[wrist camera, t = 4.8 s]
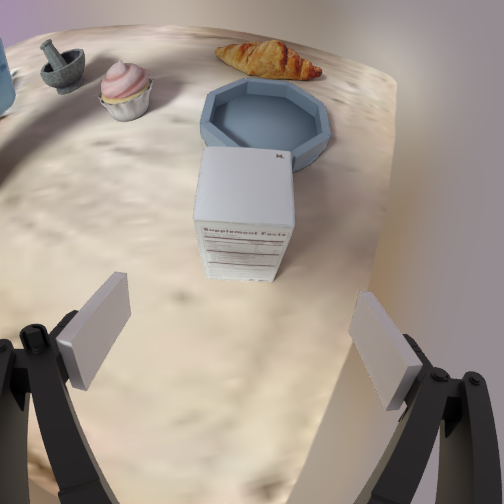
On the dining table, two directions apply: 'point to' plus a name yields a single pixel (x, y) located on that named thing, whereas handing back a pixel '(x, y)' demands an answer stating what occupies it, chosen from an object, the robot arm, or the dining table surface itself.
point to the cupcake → (125, 91)
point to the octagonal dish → (266, 119)
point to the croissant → (268, 60)
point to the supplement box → (244, 212)
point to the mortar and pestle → (63, 68)
